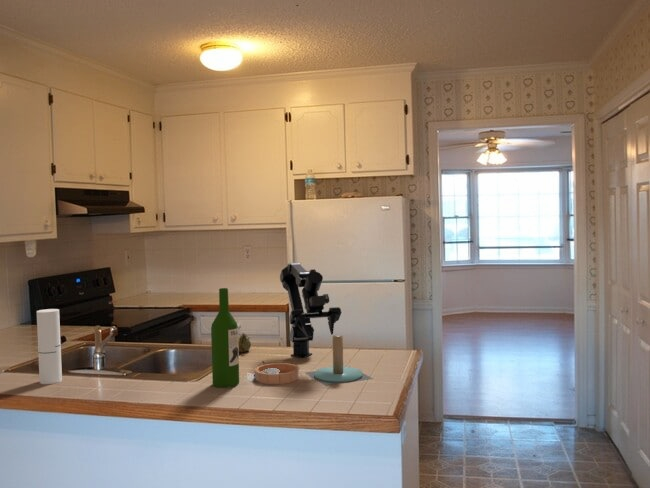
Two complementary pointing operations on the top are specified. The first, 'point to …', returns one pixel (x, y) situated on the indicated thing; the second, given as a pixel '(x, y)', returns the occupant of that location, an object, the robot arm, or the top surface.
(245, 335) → the artichoke
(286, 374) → the bowl
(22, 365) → the top surface
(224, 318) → the wine bottle
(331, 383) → the mat
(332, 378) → the teal disc with post
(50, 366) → the cylindrical container
